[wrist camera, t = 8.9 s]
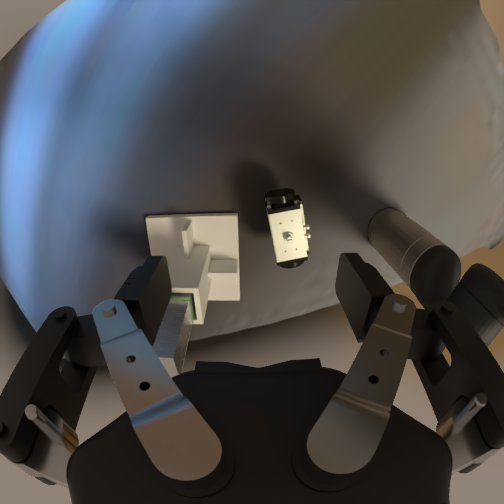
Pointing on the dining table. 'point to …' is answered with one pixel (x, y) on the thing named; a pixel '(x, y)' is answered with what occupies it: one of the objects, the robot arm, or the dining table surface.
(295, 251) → the pneumatic valve
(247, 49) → the dining table surface
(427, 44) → the dining table surface
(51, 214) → the dining table surface
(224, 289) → the stand base
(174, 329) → the column
